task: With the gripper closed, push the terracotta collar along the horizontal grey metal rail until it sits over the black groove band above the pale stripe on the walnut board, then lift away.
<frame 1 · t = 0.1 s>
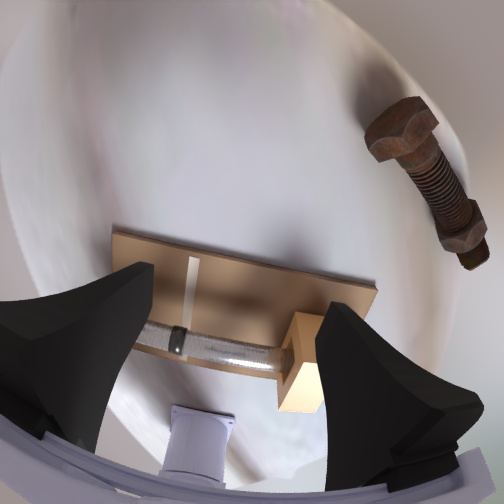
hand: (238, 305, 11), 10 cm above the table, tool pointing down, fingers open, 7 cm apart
board: (233, 321, 23), on the table
rail: (233, 321, 23), resting on board
collar: (305, 363, 20), point 4 cm above the table, slide at 0.0 cm
bolt: (429, 191, 19), on the table
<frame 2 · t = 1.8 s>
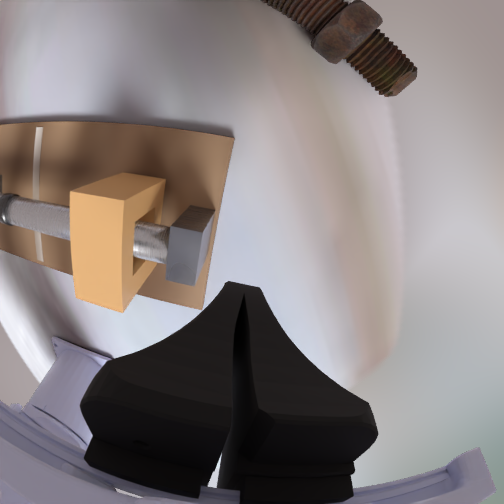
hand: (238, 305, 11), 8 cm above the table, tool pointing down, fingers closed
board: (75, 202, 17), on the table
rail: (75, 202, 17), resting on board
collar: (119, 234, 14), point 4 cm above the table, slide at 0.0 cm
bolt: (297, 16, 13), on the table
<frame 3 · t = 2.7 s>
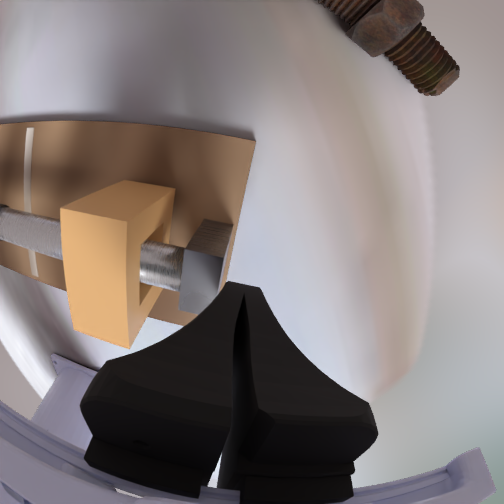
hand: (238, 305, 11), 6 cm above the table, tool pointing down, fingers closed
board: (71, 212, 15), on the table
rail: (71, 212, 15), resting on board
collar: (122, 255, 12), point 4 cm above the table, slide at 0.0 cm
bolt: (325, 4, 10), on the table
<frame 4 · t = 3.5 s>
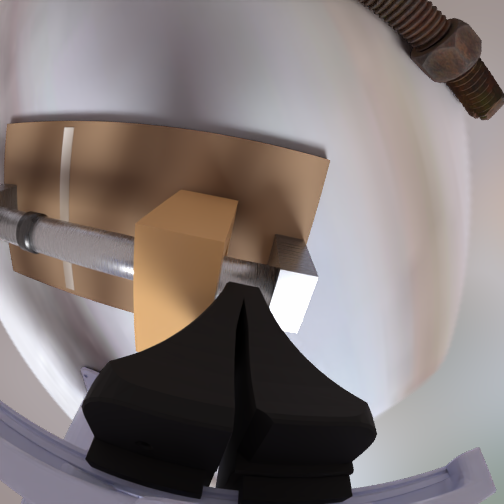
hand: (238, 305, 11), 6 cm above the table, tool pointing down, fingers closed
board: (119, 222, 15), on the table
rail: (119, 222, 15), resting on board
collar: (188, 271, 12), point 4 cm above the table, slide at 0.6 cm, touching gripper
bolt: (387, 24, 10), on the table
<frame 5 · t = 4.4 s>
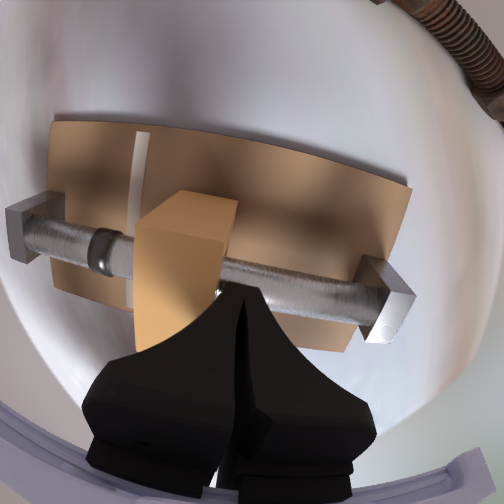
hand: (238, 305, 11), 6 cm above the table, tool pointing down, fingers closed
board: (200, 240, 16), on the table
rail: (200, 240, 16), resting on board
collar: (188, 271, 12), point 4 cm above the table, slide at 5.8 cm, touching gripper
bolt: (452, 59, 11), on the table
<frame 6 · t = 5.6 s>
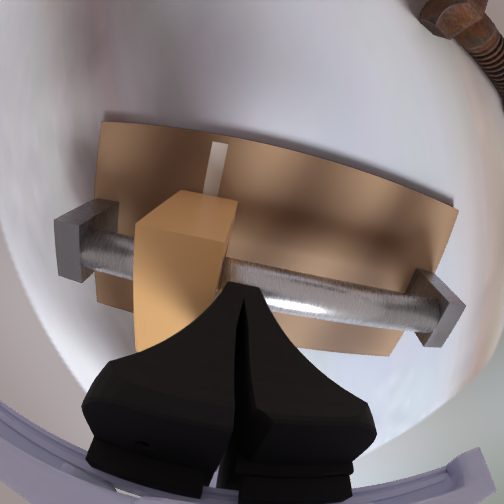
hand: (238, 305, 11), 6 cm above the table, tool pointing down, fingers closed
board: (272, 255, 16), on the table
rail: (272, 255, 16), resting on board
collar: (188, 271, 12), point 4 cm above the table, slide at 10.0 cm, touching gripper
bolt: (491, 86, 11), on the table
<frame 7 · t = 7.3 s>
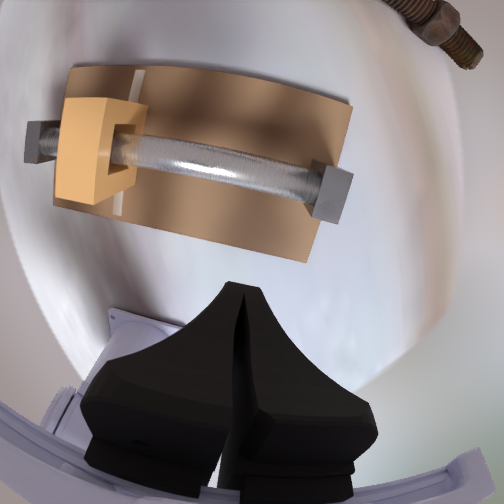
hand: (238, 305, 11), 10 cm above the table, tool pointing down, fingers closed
board: (177, 149, 18), on the table
rail: (177, 149, 18), resting on board
collar: (102, 145, 14), point 4 cm above the table, slide at 10.0 cm
bolt: (391, 8, 13), on the table
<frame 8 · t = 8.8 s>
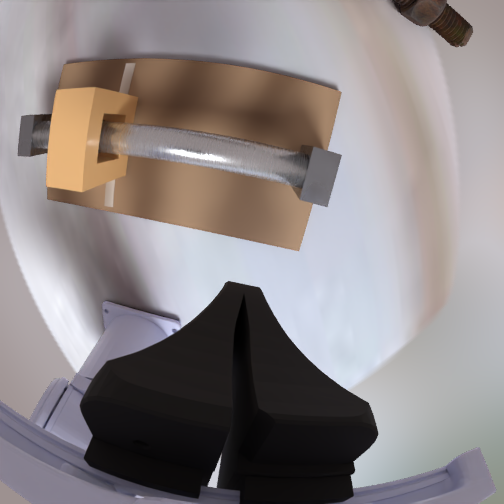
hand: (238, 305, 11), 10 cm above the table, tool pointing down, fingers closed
board: (167, 139, 18), on the table
rail: (167, 139, 18), resting on board
collar: (92, 136, 14), point 4 cm above the table, slide at 10.0 cm
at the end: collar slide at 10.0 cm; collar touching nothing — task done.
